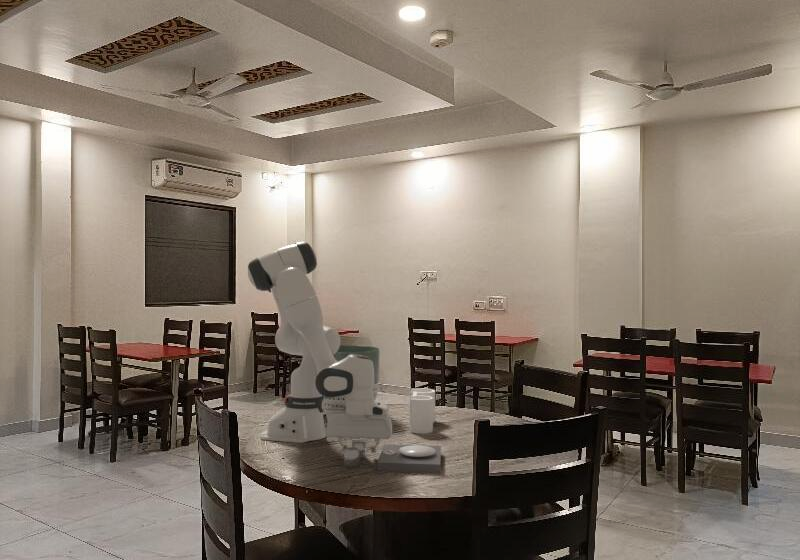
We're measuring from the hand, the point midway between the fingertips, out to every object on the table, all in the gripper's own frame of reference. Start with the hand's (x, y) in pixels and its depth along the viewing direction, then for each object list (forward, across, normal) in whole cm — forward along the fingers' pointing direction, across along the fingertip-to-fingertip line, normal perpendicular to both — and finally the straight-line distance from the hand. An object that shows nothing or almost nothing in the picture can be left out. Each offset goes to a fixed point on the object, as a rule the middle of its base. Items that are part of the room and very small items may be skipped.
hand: (359, 452), depth 192 cm
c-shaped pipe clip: (+2, +18, +46) cm, 49 cm away
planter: (+2, -14, +61) cm, 63 cm away
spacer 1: (+2, -1, -9) cm, 9 cm away
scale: (+2, +16, -3) cm, 16 cm away
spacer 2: (+2, 0, 0) cm, 2 cm away
